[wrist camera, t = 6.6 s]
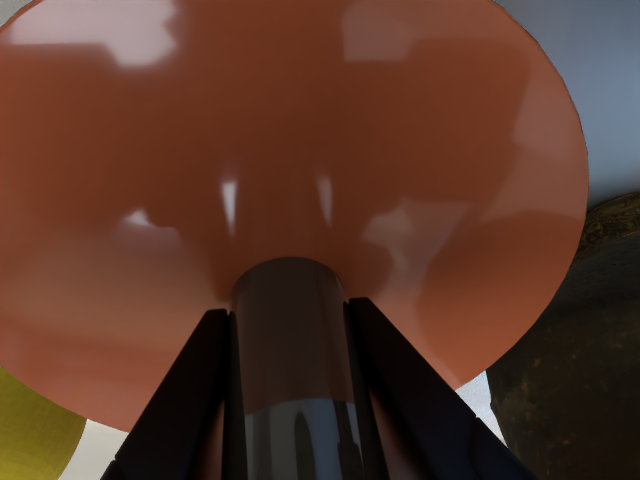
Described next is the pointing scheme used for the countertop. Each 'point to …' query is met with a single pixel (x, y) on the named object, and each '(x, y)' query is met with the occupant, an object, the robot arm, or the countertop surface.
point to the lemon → (34, 433)
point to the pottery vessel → (581, 362)
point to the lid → (276, 205)
